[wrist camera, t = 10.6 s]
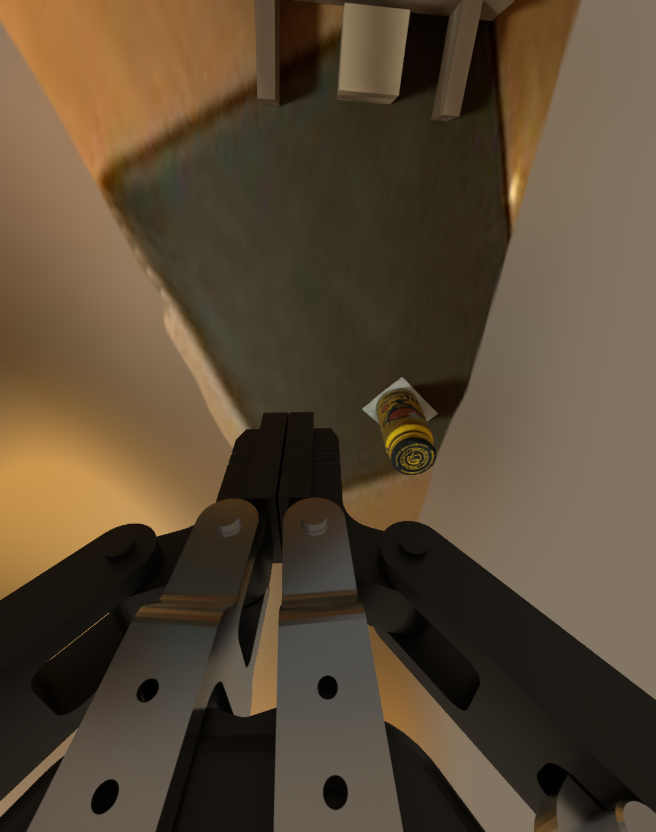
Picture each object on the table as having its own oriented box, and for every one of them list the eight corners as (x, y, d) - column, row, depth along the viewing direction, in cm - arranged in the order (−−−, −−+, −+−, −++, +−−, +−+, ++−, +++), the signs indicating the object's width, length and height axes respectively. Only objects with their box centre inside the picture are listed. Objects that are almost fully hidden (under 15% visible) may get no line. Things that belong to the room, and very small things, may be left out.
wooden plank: (239, 103, 35) (228, 93, 31) (232, -42, 30) (218, -77, 26) (469, 123, 36) (488, 117, 32) (499, -13, 31) (526, -42, 27)
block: (337, 99, 35) (338, 89, 31) (341, 24, 32) (344, 2, 28) (389, 104, 35) (398, 95, 31) (399, 30, 32) (410, 9, 28)
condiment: (401, 376, 51) (421, 426, 41) (437, 413, 54) (463, 467, 44) (361, 408, 54) (370, 462, 44) (398, 441, 57) (414, 498, 47)
